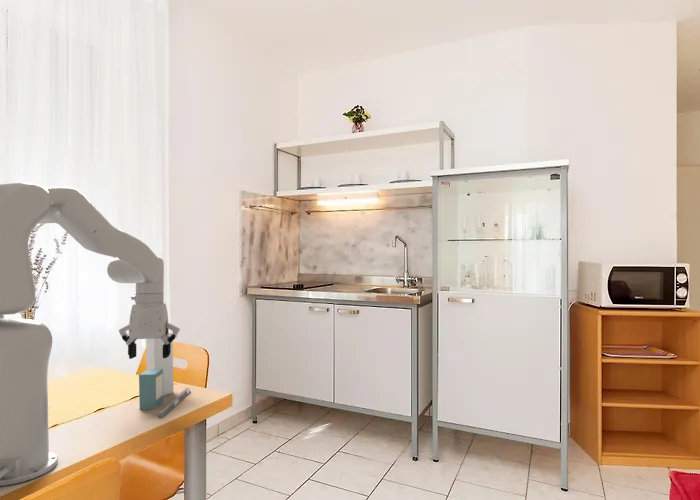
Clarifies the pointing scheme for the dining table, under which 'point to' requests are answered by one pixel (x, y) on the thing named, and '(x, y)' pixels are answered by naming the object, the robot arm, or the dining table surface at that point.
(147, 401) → the tea tin
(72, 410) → the dining table surface
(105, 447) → the dining table surface
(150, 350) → the milk
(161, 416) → the rail
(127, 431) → the dining table surface
